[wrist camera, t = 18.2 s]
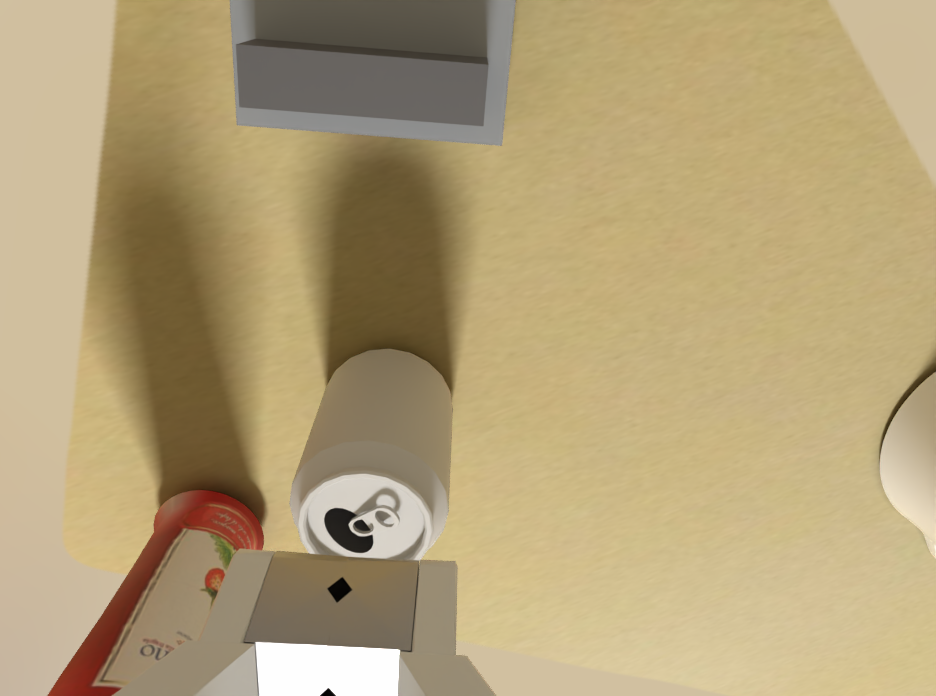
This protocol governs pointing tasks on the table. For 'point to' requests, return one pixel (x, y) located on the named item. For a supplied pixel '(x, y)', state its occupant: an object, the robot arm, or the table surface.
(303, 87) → the frame
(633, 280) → the table surface
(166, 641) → the liquor
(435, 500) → the can
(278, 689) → the robot arm
